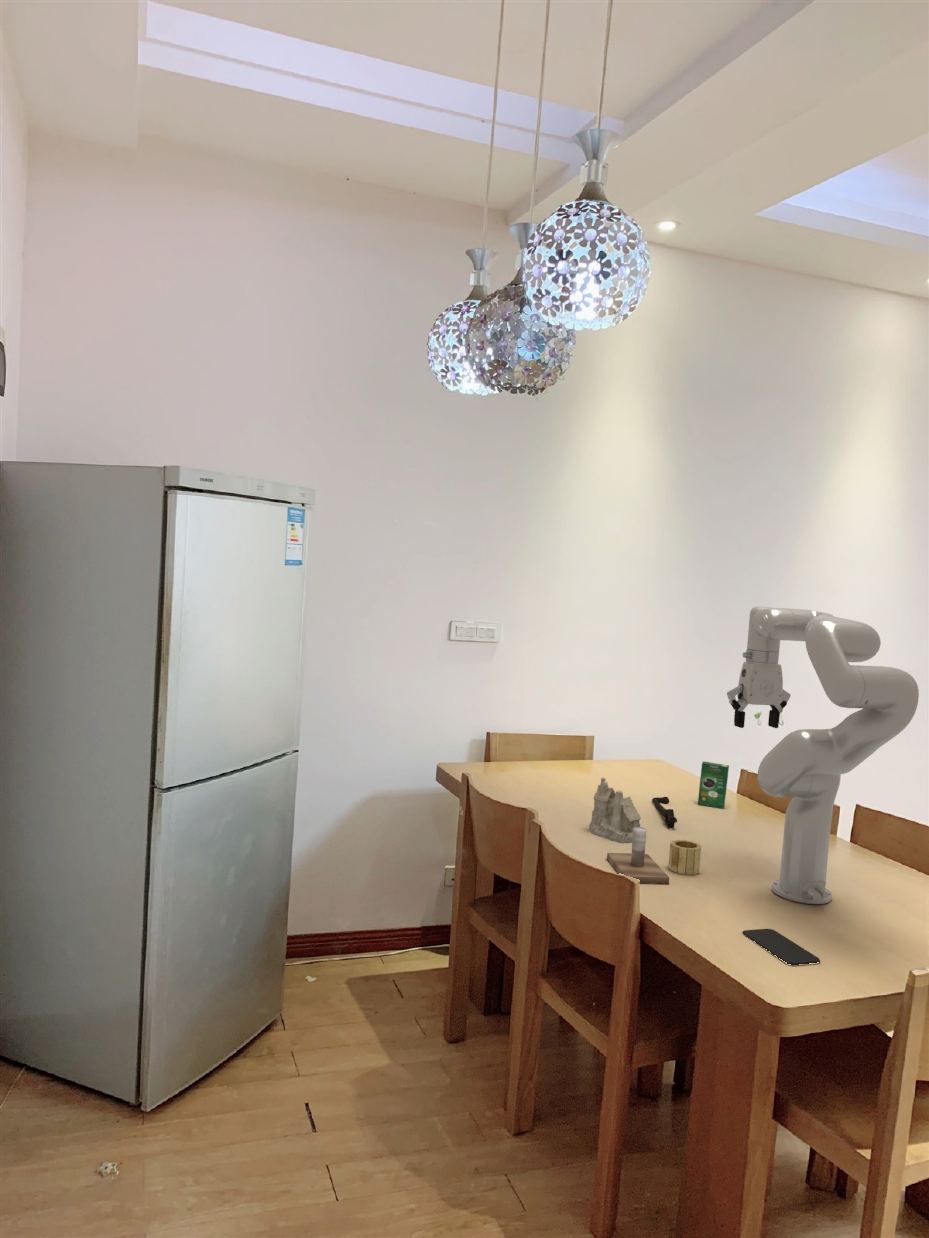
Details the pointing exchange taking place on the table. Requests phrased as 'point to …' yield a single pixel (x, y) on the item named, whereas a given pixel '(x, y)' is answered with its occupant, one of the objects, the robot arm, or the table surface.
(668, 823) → the wrench
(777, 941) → the phone
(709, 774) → the coffee box
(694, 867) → the ring
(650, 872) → the post board
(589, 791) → the table surface
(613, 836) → the ceramic cottage
